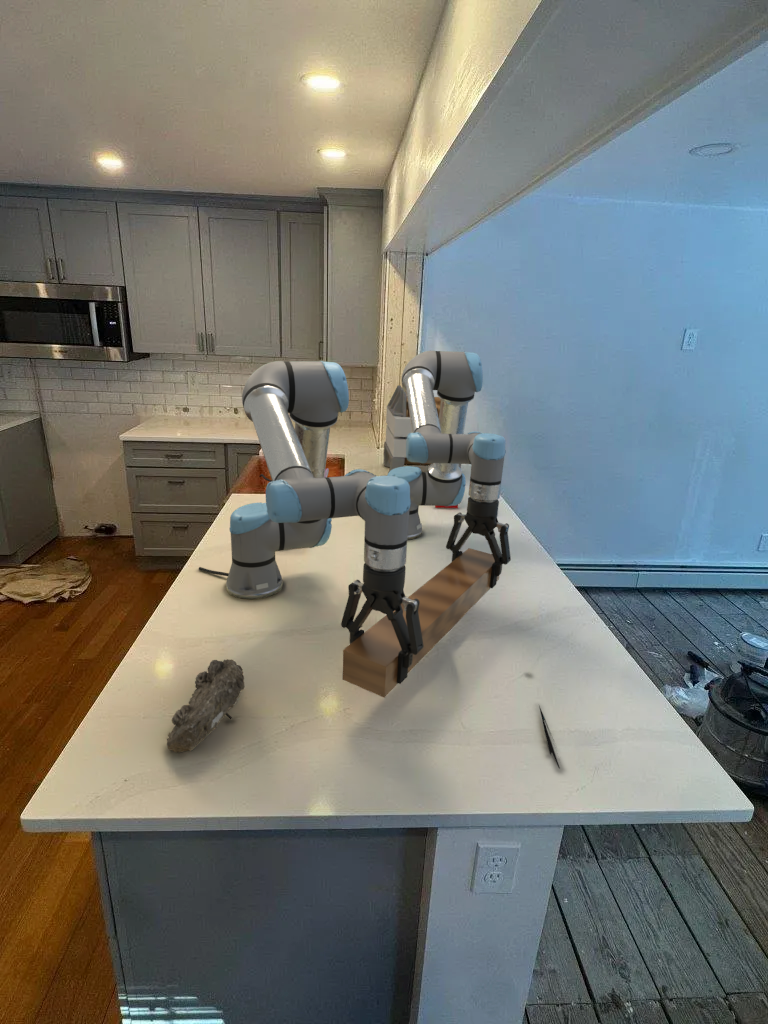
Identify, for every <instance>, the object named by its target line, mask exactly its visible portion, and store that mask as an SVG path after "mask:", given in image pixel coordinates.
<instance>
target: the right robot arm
mask: <svg viewBox="0 0 768 1024" xmlns="http://www.w3.org/2000/svg"><path fill="white" fill-rule="evenodd" d="M483 373H484V372H483V364H482V359H481V358H480V355H479V354H478V353H476V352H468V351H465V350H464V351H454V350H453V351H450V350H449V351H448V350H447V351H446V350H425V351H421V352H420V353H418V354H416V355H415V356H413V357H412V358H411V359H410V360H409V361H408V362H407V363H406V365H405V366H404V369H402V374H401V387H402V388H403V390H404V392H405V393H406V394H407V399H408V406H409V413H410V421H411V428H412V433H409V434H408V435H407V440H406V457H407V460H408V461H410V462H418V463H432V464H431V465H430V466H429V465H428V466H427V471H422V469H421V468H420V466H407V465H404V467H398V468H395V469H392V470H391V471H390V470H388V473H387V475H386V476H395V477H398V478H402V479H404V480H406V481H407V482H408V483H409V486H410V500H411V505H410V510H409V523H408V536H407V541H410V540H415V539H418V538H420V537H421V536H422V535H423V524H422V523H421V518H420V515H419V507H420V506H427V507H428V506H429V507H431V506H432V507H433V506H434V507H435V506H446V507H447V506H456V505H458V506H459V504H460V503H461V502H462V501H463V499H464V496H465V491H466V483H467V482H466V476H465V474H464V473H463V470H462V467H461V468H460V467H459V464H461V465H471V466H470V476H469V485H468V496H469V497H468V498H467V504H466V512H465V514H464V513H462V512H457V513H456V514H455V515H454V516H453V525H452V527H451V531H450V534H449V536H448V540H447V542H446V544H445V549H446V550H450V551H451V552H452V554H451V562H452V561H454V560H455V559H456V558H457V557H459V556H460V555H461V554H462V553H463V552H464V551H463V550H461V549H462V548H463V546H464V545H465V543H466V542H467V540H469V538H470V536H471V535H472V534H475V535H480V536H482V537H485V540H486V541H487V544H488V546H489V549H490V552H491V554H492V555H493V557H494V560H495V562H494V563H493V564H492V571H491V580H490V589H493V588H494V587H495V586H496V585H497V582H498V581H497V576H499V577H500V576H501V574H502V572H503V571H502V570H503V565H508V563H510V562H511V560H512V558H511V557H512V556H511V550H510V548H511V547H510V541H509V533H508V532H509V529H510V524H509V523H508V522H507V523H503V522H500V521H499V520H498V513H499V504H500V500H499V499H500V496H501V489H502V480H503V479H502V478H503V472H504V471H503V470H504V465H505V464H504V463H505V456H506V454H507V451H506V445H507V443H506V441H507V440H506V439H505V437H504V436H503V435H499V434H496V433H489V432H486V433H485V432H484V433H483V432H481V431H475V430H474V431H470V432H467V433H465V426H466V419H467V415H468V413H467V412H468V408H469V403H470V402H472V401H473V400H474V398H475V394H476V393H479V392H481V391H482V388H483V384H484V383H483V382H484V379H483V378H484V374H483ZM434 391H436V395H437V397H439V398H440V399H441V405H440V413H439V418H438V413H437V408H436V403H435V398H434V397H435V393H434ZM259 478H263V479H264V480H265V481H267V482H268V483H269V482H272V479H271V478H268V477H266V476H265V475H264V474H263V473H261V474H259ZM464 521H465V523H466V525H467V528H466V529H465V530H464V532H463V534H462V535H461V537H460V538H459V540H458V541H457V539H458V536H459V532H460V530H461V527H462V524H463V522H464ZM496 528H497V532H498V533H499V543H500V546H499V543H498V541H497V538H496V532H495V529H496ZM456 541H457V543H456ZM455 543H456V544H455Z"/></svg>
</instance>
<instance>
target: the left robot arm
mask: <svg viewBox="0 0 768 1024" xmlns="http://www.w3.org/2000/svg"><path fill="white" fill-rule="evenodd" d="M349 402H350V394H349V385H348V381H347V376H346V373H345V371H344V369H343V368H342V366H341V365H340V364H339V363H337V362H335V361H324V360H319V361H315V360H314V361H311V360H310V361H309V360H307V361H301V360H300V361H294V360H293V361H290V360H289V361H288V360H287V361H284V360H275V361H270V362H268V363H265V364H263V365H261V366H259V367H258V368H257V369H255V370H254V371H253V372H252V373H251V374H250V376H249V377H248V378H247V380H246V383H245V385H244V386H243V389H242V393H241V403H242V404H241V405H242V407H243V411H244V415H246V418H247V419H248V420H250V421H251V422H252V423H253V426H254V430H255V433H256V437H257V439H258V442H259V445H260V448H261V451H262V454H263V458H264V460H265V463H266V466H267V470H268V473H269V476H270V480H272V482H269V481H268V482H267V485H266V487H265V502H252V503H247V504H244V505H242V506H239V507H237V508H236V509H235V510H234V511H232V512H231V514H230V518H229V532H230V547H231V548H230V549H231V565H230V568H229V572H224V571H217V570H212V569H209V568H205V567H201V566H199V567H198V571H201V572H203V573H208V574H212V575H218V576H223V577H227V578H226V581H225V585H226V586H225V587H226V591H227V593H228V594H229V595H230V596H232V597H235V598H238V599H243V600H260V599H265V598H266V599H267V598H269V597H271V596H274V595H277V593H279V592H280V591H281V590H282V588H283V586H284V585H283V576H282V573H281V571H280V569H279V566H278V563H277V561H276V552H281V551H282V552H283V551H291V550H301V549H314V548H316V547H322V546H324V545H325V544H326V543H327V542H328V541H329V540H330V537H331V533H332V528H333V525H332V522H333V521H332V519H339V518H349V517H359V518H360V519H362V520H363V521H364V536H363V537H364V540H363V541H364V544H363V562H364V563H363V568H362V569H363V570H362V582H361V580H360V579H356V580H354V581H353V582H350V584H348V587H347V588H348V597H347V600H346V601H347V602H346V604H345V607H344V611H343V614H342V619H341V621H340V626H341V628H343V629H347V630H348V633H349V645H350V644H351V643H352V642H353V641H355V640H356V639H357V638H358V637H360V636H361V635H362V634H363V633H365V630H364V629H362V627H363V625H364V623H365V622H366V620H367V619H368V617H369V615H370V614H371V613H372V611H375V612H380V613H382V614H384V615H385V616H386V615H387V617H388V620H390V621H391V623H392V625H393V628H394V631H395V633H396V636H397V638H398V641H399V644H400V646H401V649H402V650H401V651H400V652H399V653H398V670H397V683H398V684H397V685H401V684H402V683H403V682H404V681H405V680H406V679H407V678H408V674H409V673H408V668H409V667H410V666H411V665H412V660H413V654H414V655H416V654H418V653H419V652H420V651H421V650H422V649H423V647H424V645H423V639H422V632H421V626H420V620H419V614H418V608H419V603H420V602H419V600H418V599H414V600H411V599H409V598H408V597H407V596H406V594H405V591H404V588H405V583H406V569H407V568H406V567H407V566H406V564H407V554H408V553H407V551H408V540H407V536H408V523H409V510H410V505H411V500H410V486H409V483H408V482H407V481H406V480H404V479H402V478H398V477H395V476H387V475H376V474H374V473H372V472H370V471H368V470H366V469H362V468H358V469H357V468H356V469H352V470H351V471H349V472H347V473H346V474H345V475H341V476H329V477H328V476H327V477H325V478H324V475H325V469H326V467H327V466H326V465H327V458H328V447H329V442H330V441H329V440H330V431H331V427H333V426H334V425H335V424H336V423H337V422H338V418H339V413H340V414H341V413H344V412H346V411H347V410H348V408H349ZM293 422H294V424H293ZM362 594H363V595H364V597H365V599H366V600H365V602H364V604H363V605H362V607H361V610H360V611H359V613H358V614H357V616H356V613H357V609H358V606H359V603H360V599H361V595H362ZM401 604H403V605H404V608H405V609H404V611H405V612H406V621H407V624H406V622H405V619H404V617H403V609H402V607H401ZM394 610H395V612H394V613H393V611H394ZM355 616H356V617H355Z"/></svg>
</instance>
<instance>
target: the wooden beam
mask: <svg viewBox="0 0 768 1024" xmlns="http://www.w3.org/2000/svg"><path fill="white" fill-rule="evenodd" d="M494 562H495V560H494V557H493V555H492V553H489V552H485V551H481V550H478V549H474V548H470V547H469V548H467V549H466V550H465V551H463V553H462V554H461V555H460V556H459V557H457V558H456V559H455V560H454V561H452V560H451V562H450V563H449V564H447V565H446V566H445V567H443V568H442V569H441V570H440V571H438V572H437V573H436V574H435V575H434V576H432V577H431V578H430V579H429V580H428V581H426V582H425V583H424V584H423V585H422V586H420V587H419V588H418V589H416V590H415V591H413V592H412V593H411V594H410V595H409V596H408V597H407V598H409V599H411V600H414V599H418V600H419V602H420V603H419V608H418V614H419V620H420V626H421V632H422V639H423V645H424V647H423V649H422V650H421V651H420V652H419V653H418V654H416V655H414V654H413V660H412V665H411V666H410V667H409V668H408V674H409V673H410V672H411V671H412V670H413V669H414V668H415V667H416V666H417V665H418V664H419V663H420V662H421V661H422V660H423V659H424V658H425V657H426V655H428V653H430V651H431V650H432V649H433V648H434V647H435V646H436V645H437V644H438V643H439V642H440V641H441V640H442V639H443V638H444V637H445V636H446V635H447V634H448V633H449V632H450V630H451V629H453V627H455V626H456V625H457V624H458V623H459V622H460V621H461V619H463V617H464V616H465V615H466V614H467V613H468V612H469V611H470V610H471V609H472V608H473V607H474V606H475V605H476V604H477V603H478V602H479V601H480V600H481V599H482V598H483V597H484V596H485V595H486V593H487V592H488V591H489V590H490V589H491V588H490V580H491V571H492V564H493V563H494ZM499 580H500V575H499V576H497V582H498V581H499ZM401 607H402V609H403V617H404V619H405V622H406V624H407V621H406V612H405V611H404V609H405V608H404V605H403V604H401ZM394 612H395V610H394V611H393V613H394ZM401 650H402V649H401V646H400V644H399V641H398V638H397V636H396V633H395V631H394V628H393V625H392V623H391V621H390V620H388V617H387V615H386V614H385V615H384V616H383V617H381V619H379V620H378V621H377V622H375V623H374V624H373V625H372V626H371V627H369V628H368V629H367V630H366V631H364V633H363V634H362V635H361V636H360V637H358V638H357V639H356V640H355V641H353V642H352V643H351V644H350V643H349V645H347V646H346V647H345V648H344V649H342V681H345V682H347V683H349V684H351V685H353V686H356V687H359V688H360V689H363V690H365V691H368V692H370V693H372V694H375V695H378V696H379V697H381V698H386V697H387V696H388V695H389V694H390V693H391V692H392V691H393V690H394V689H395V688H396V686H398V685H399V684H398V683H397V670H398V653H399V652H400V651H401Z"/></svg>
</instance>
